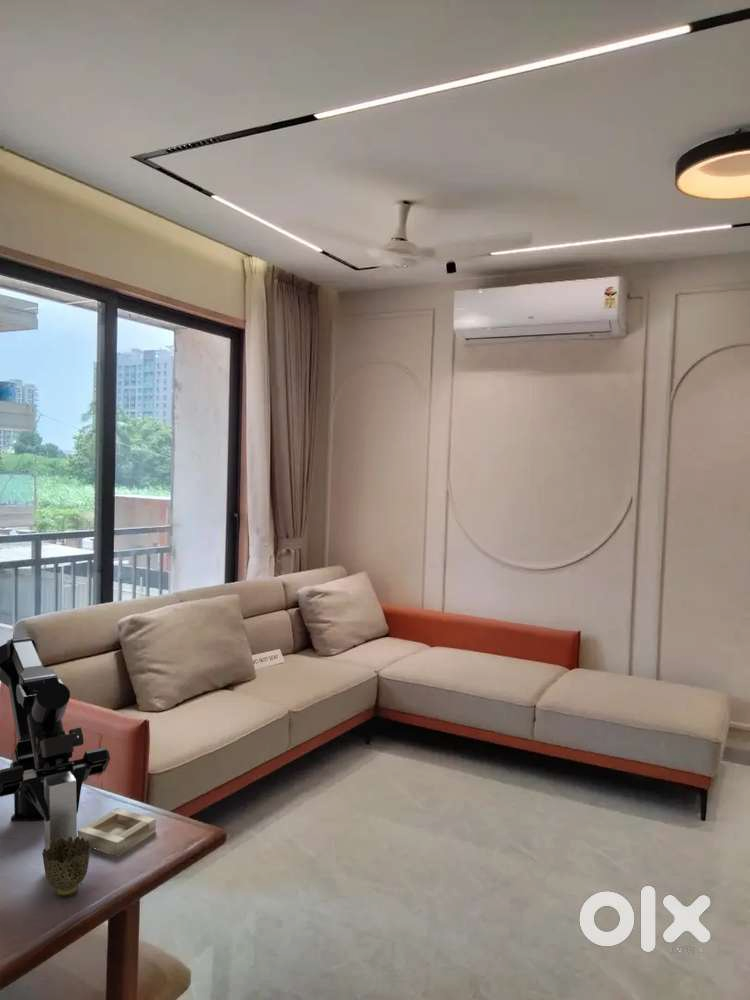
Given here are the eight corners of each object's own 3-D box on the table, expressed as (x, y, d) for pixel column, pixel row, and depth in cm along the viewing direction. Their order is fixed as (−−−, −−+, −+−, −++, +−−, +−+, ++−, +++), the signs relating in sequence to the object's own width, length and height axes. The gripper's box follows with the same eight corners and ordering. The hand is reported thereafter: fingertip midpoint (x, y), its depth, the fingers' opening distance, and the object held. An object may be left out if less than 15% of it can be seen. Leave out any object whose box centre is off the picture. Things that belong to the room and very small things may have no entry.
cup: (73, 909, 119) (72, 861, 118) (33, 903, 120) (32, 856, 120) (99, 883, 126) (99, 838, 125) (61, 878, 127) (60, 833, 127)
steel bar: (44, 848, 131) (43, 777, 130) (70, 840, 134) (70, 771, 133) (50, 859, 127) (49, 786, 127) (76, 851, 130) (76, 780, 129)
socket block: (78, 845, 139) (77, 830, 139) (117, 822, 148) (117, 807, 148) (117, 858, 134) (117, 842, 134) (155, 833, 143) (155, 818, 143)
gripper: (-4, 725, 127) (9, 812, 119) (106, 705, 138) (125, 784, 130) (-10, 754, 134) (1, 839, 125) (95, 733, 145) (112, 809, 136)
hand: (62, 816), depth 129 cm, fingers closed on steel bar, 4 cm apart
